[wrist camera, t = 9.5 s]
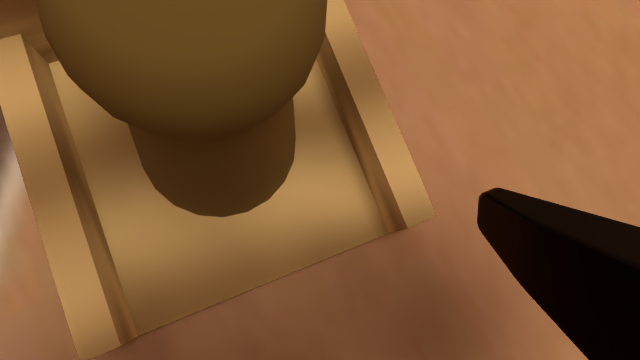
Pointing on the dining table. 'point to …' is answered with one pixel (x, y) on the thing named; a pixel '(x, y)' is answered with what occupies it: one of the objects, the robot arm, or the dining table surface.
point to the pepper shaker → (196, 87)
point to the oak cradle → (183, 226)
